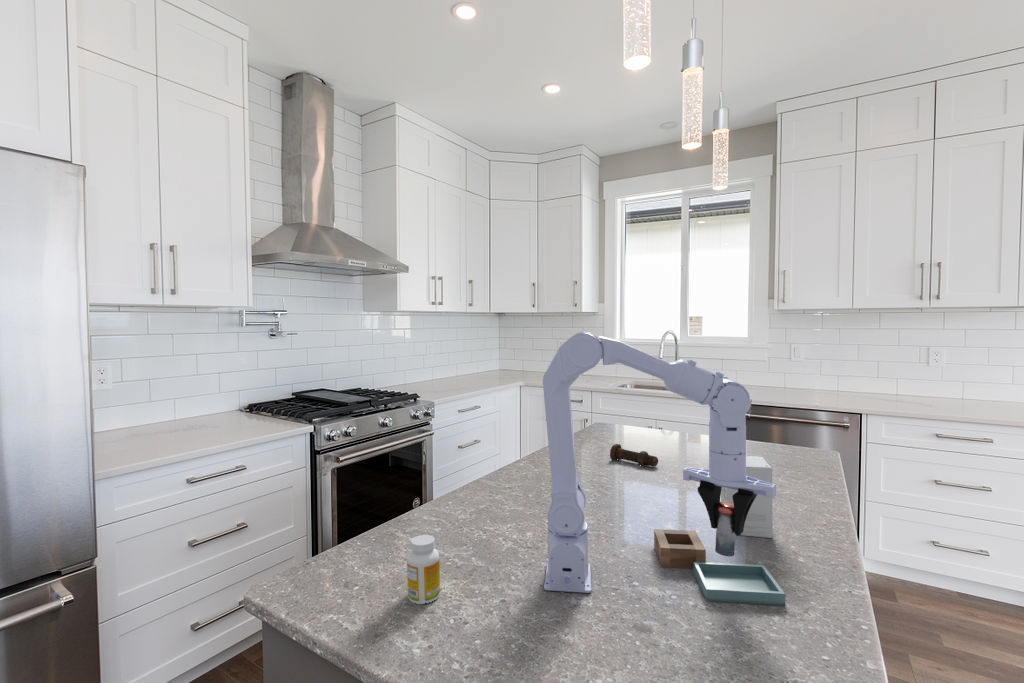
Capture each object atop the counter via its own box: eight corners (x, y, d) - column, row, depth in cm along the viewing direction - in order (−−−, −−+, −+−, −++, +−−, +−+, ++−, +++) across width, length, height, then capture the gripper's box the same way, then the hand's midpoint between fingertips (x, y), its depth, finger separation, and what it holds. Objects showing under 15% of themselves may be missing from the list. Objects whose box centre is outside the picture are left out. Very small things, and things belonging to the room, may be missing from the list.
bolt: (655, 474, 148) (612, 463, 159) (661, 463, 152) (619, 453, 162) (651, 460, 146) (608, 450, 156) (657, 449, 149) (615, 440, 159)
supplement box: (763, 521, 109) (763, 456, 108) (773, 539, 100) (773, 467, 99) (720, 517, 111) (720, 453, 110) (726, 534, 102) (726, 465, 102)
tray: (785, 606, 77) (785, 593, 77) (706, 601, 78) (706, 589, 78) (763, 576, 86) (763, 565, 86) (693, 572, 87) (693, 561, 87)
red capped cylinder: (738, 557, 80) (741, 510, 80) (717, 555, 80) (720, 508, 80) (731, 548, 83) (734, 503, 83) (711, 547, 84) (713, 501, 84)
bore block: (705, 569, 88) (705, 549, 88) (660, 566, 90) (660, 547, 89) (695, 548, 96) (695, 530, 96) (654, 546, 98) (654, 529, 97)
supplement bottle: (442, 586, 84) (440, 532, 84) (438, 604, 79) (436, 546, 78) (411, 587, 84) (409, 533, 84) (405, 606, 79) (403, 547, 78)
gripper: (781, 453, 79) (781, 534, 80) (694, 439, 89) (694, 511, 90) (769, 462, 74) (768, 549, 75) (677, 447, 84) (678, 523, 85)
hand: (727, 529), depth 82 cm, fingers closed on red capped cylinder, 3 cm apart
